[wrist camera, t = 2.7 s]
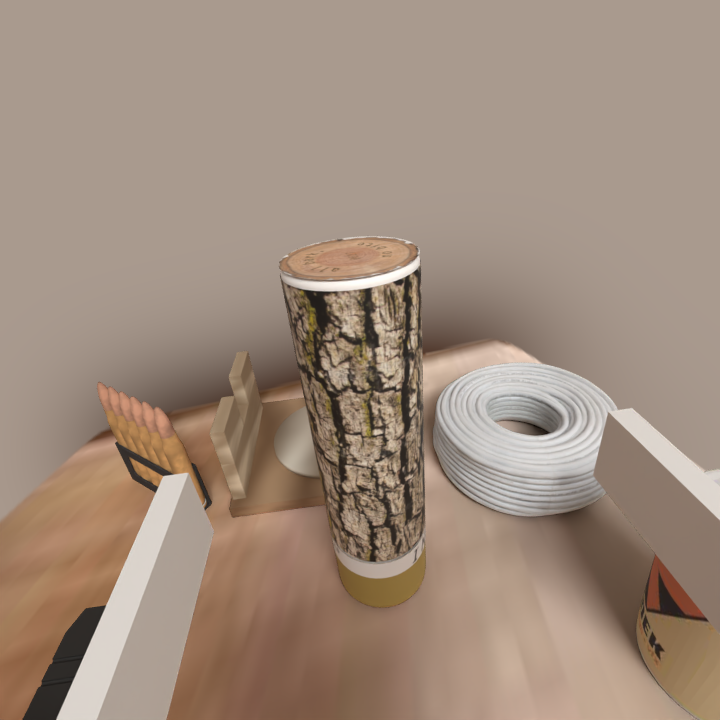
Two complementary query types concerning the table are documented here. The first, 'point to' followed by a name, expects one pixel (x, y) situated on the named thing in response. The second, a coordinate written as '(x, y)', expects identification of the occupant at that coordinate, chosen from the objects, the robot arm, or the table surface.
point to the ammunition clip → (147, 441)
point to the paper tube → (364, 404)
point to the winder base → (264, 448)
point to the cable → (522, 438)
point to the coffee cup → (680, 642)
